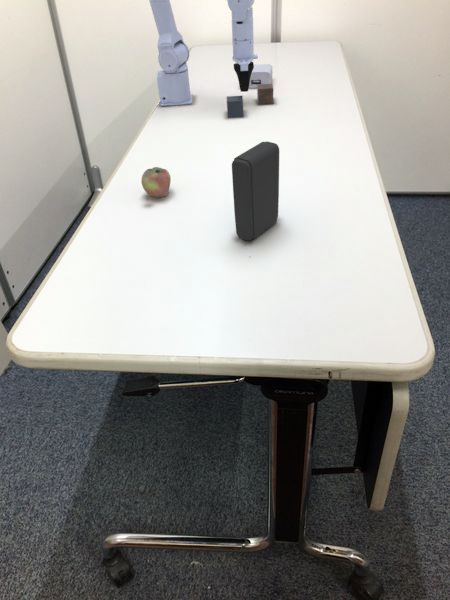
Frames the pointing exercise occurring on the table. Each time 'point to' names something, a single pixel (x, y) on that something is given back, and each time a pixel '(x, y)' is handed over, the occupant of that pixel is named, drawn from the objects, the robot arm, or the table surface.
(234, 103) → the slate block
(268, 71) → the charger
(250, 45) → the robot arm
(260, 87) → the walnut block
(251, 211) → the dark grey rounded box
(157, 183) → the apple
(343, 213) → the table surface
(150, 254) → the table surface
